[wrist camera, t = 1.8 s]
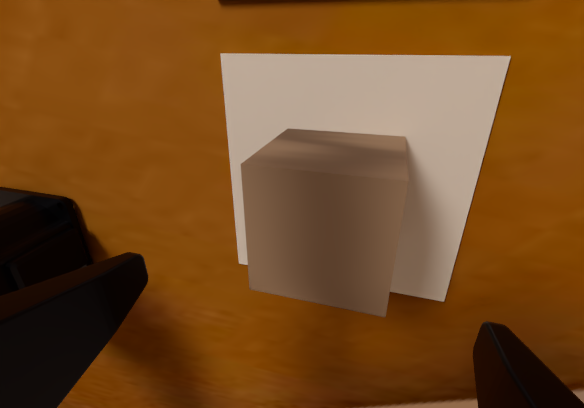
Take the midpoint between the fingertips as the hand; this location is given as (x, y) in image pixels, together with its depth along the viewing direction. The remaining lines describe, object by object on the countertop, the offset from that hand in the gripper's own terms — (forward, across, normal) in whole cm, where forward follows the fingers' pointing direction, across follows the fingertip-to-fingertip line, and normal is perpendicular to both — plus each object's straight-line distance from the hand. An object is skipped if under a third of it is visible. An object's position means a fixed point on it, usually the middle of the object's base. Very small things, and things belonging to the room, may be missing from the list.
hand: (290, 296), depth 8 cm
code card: (+8, 0, 0) cm, 8 cm away
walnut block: (+8, 0, 0) cm, 8 cm away
